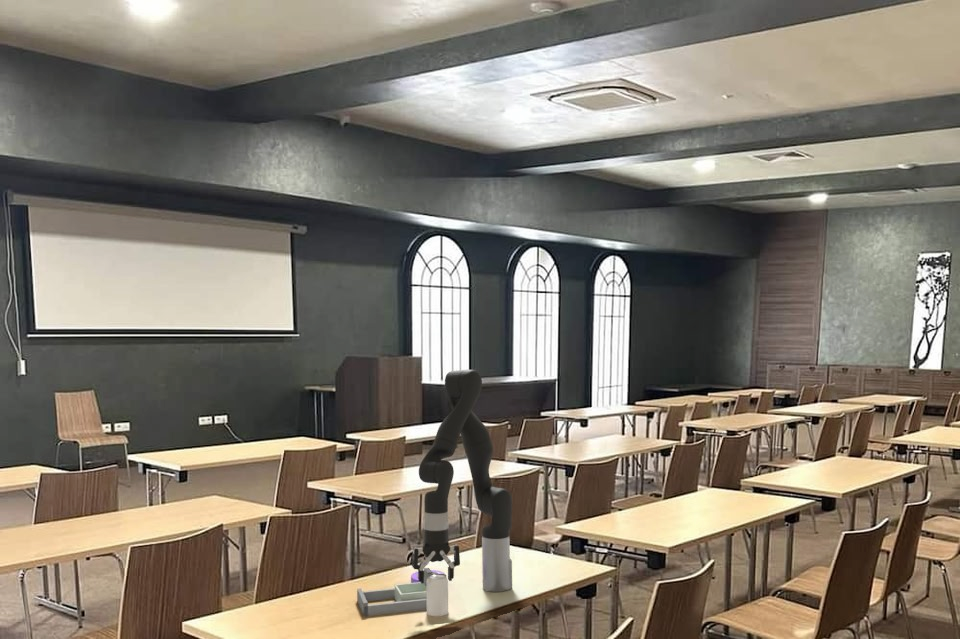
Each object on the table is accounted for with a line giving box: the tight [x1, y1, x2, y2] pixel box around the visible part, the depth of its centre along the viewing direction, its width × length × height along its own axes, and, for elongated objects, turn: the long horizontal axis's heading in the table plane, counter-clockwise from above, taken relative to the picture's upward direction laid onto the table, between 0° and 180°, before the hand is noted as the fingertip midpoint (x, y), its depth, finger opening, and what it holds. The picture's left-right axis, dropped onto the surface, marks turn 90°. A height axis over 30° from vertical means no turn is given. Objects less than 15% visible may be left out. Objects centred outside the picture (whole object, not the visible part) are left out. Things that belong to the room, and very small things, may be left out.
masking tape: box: [410, 569, 446, 583], centre depth 258 cm, size 12×12×4 cm
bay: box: [356, 587, 427, 617], centre depth 236 cm, size 23×14×5 cm, turn 107°
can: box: [426, 573, 449, 617], centre depth 228 cm, size 6×6×12 cm
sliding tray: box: [394, 567, 432, 602], centre depth 238 cm, size 10×10×10 cm
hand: (436, 581), depth 228 cm, fingers open, 8 cm apart
